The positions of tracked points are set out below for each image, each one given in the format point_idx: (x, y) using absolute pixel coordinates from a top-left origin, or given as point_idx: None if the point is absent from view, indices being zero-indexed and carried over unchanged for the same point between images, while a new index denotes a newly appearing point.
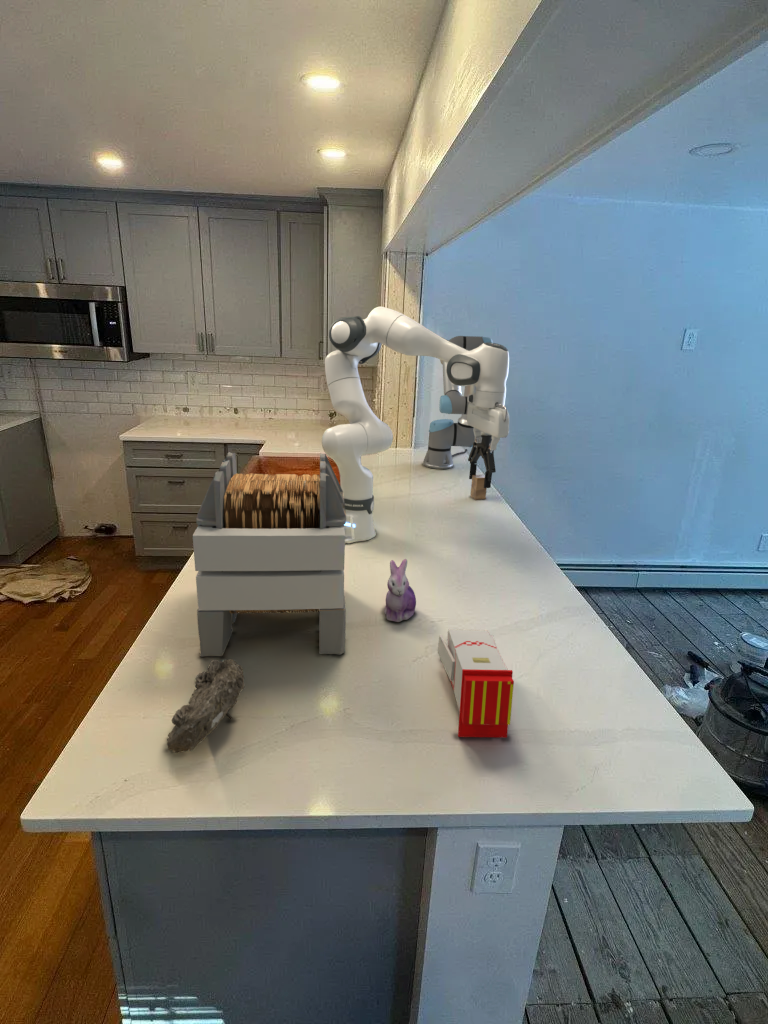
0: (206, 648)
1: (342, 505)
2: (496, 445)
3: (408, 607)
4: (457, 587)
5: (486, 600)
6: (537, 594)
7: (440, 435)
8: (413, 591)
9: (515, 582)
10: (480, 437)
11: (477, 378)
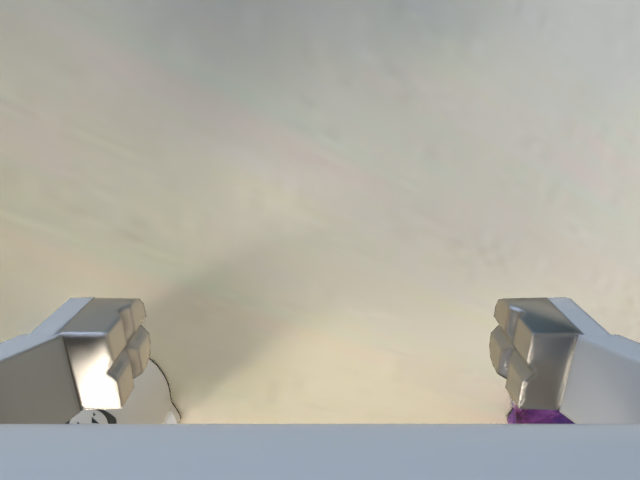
0: None
1: None
2: (597, 329)
3: None
4: (487, 260)
5: (575, 222)
6: (613, 64)
7: None
8: (566, 420)
9: (524, 89)
10: (112, 359)
11: None
